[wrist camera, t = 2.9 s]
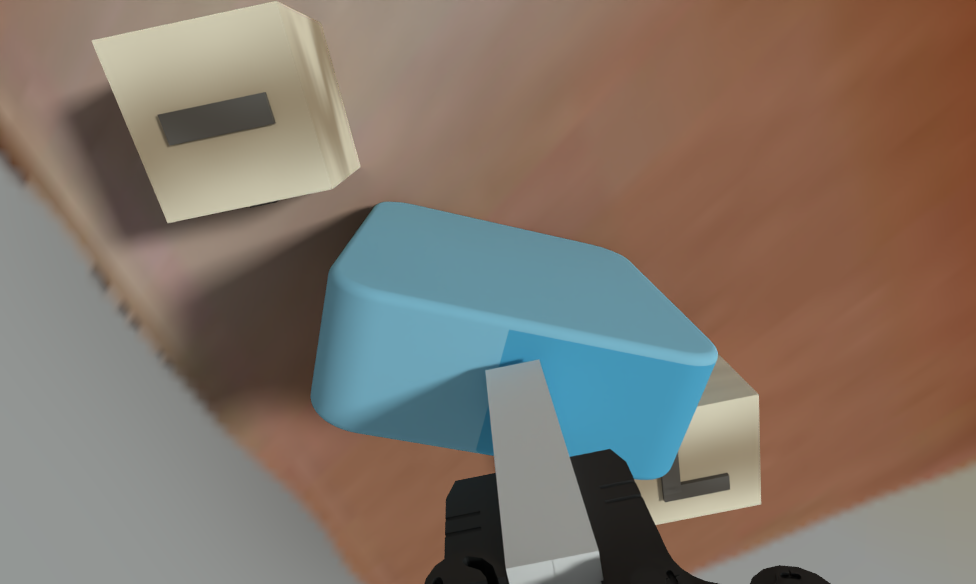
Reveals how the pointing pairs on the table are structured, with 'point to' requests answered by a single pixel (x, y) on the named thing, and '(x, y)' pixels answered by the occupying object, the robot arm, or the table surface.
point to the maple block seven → (712, 455)
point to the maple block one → (231, 109)
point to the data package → (502, 338)
